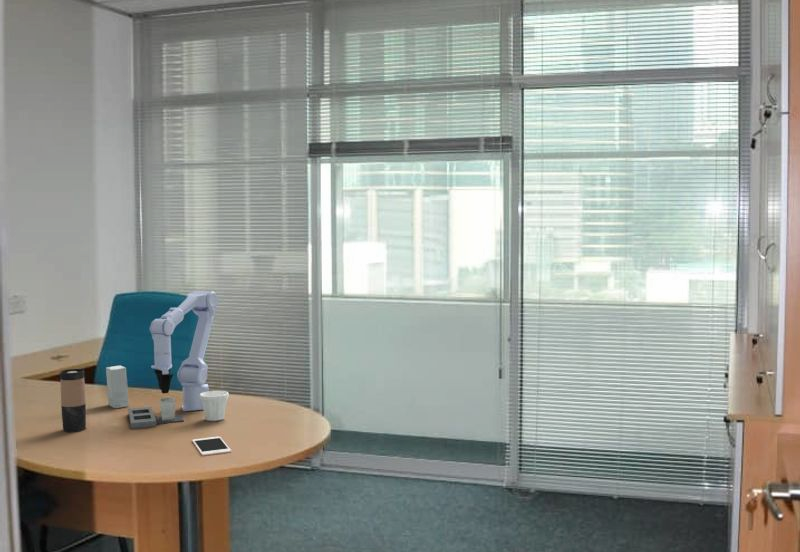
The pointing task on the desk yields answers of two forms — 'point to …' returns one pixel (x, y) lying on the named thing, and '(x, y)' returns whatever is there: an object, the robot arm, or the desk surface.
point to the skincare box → (117, 386)
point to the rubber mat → (177, 419)
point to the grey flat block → (141, 417)
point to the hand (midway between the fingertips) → (164, 391)
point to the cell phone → (211, 446)
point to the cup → (214, 404)
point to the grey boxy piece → (167, 408)
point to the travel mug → (73, 400)
